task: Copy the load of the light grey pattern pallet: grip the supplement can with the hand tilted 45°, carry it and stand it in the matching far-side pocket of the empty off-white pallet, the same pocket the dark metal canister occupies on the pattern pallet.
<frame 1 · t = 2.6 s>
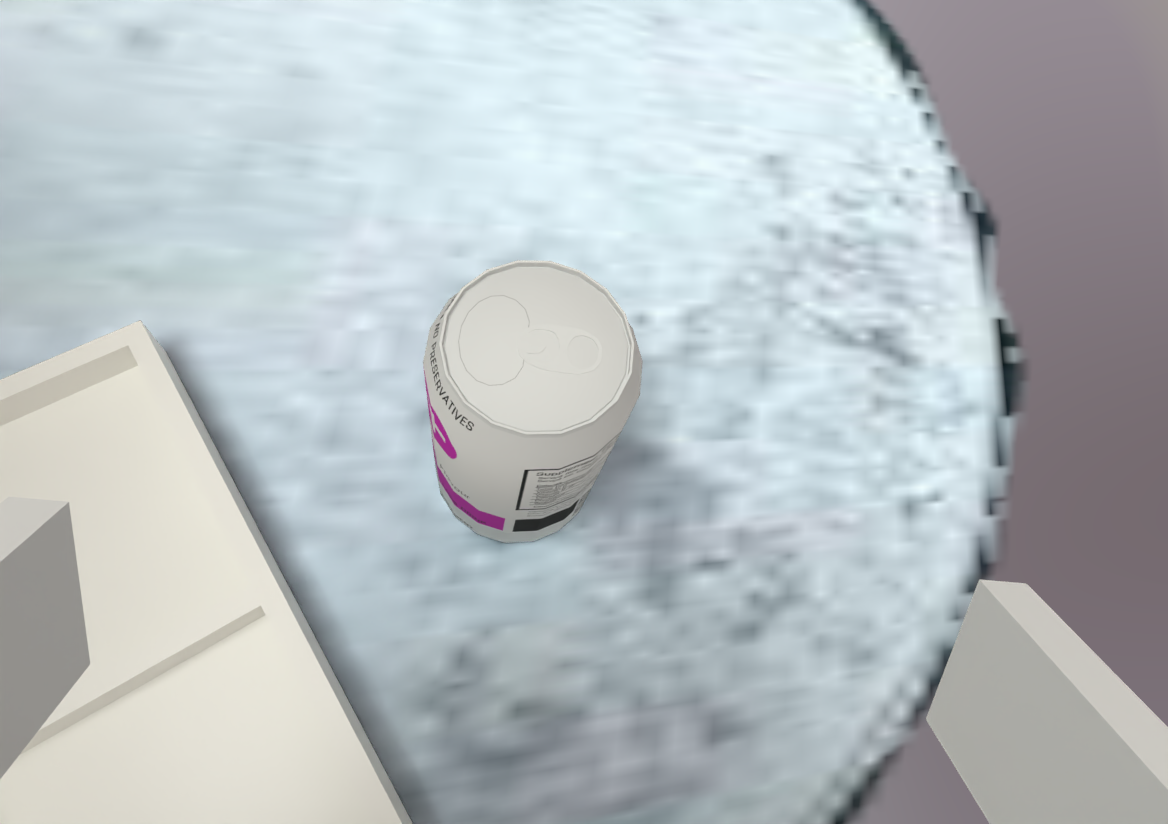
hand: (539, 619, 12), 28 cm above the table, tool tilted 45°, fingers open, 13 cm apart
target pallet: (137, 684, 35), on the table
supplement can: (514, 471, 42), on the table
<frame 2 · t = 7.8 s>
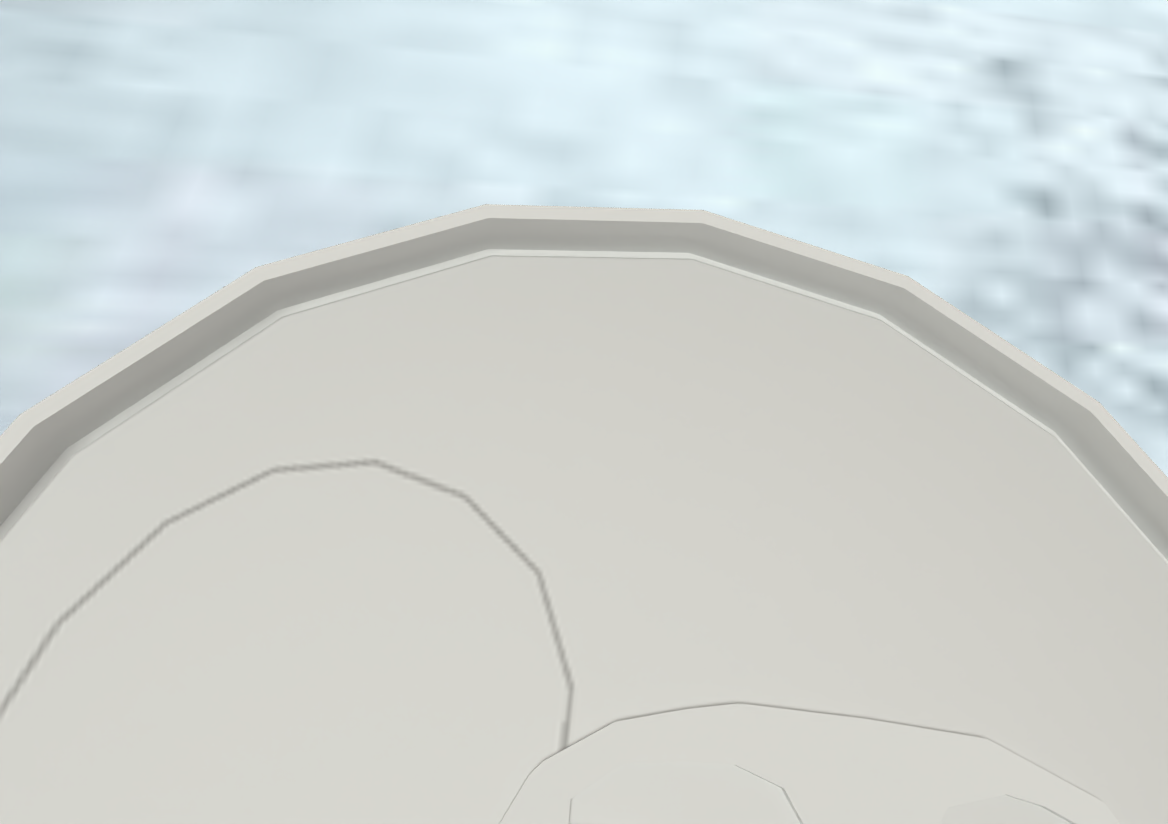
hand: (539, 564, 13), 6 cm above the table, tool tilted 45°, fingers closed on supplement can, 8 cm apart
supplement can: (506, 771, 17), on the table, touching gripper
when the fingers open (8 cm above the table, at t = 13.8 s): supplement can stays where it is, resting on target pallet.
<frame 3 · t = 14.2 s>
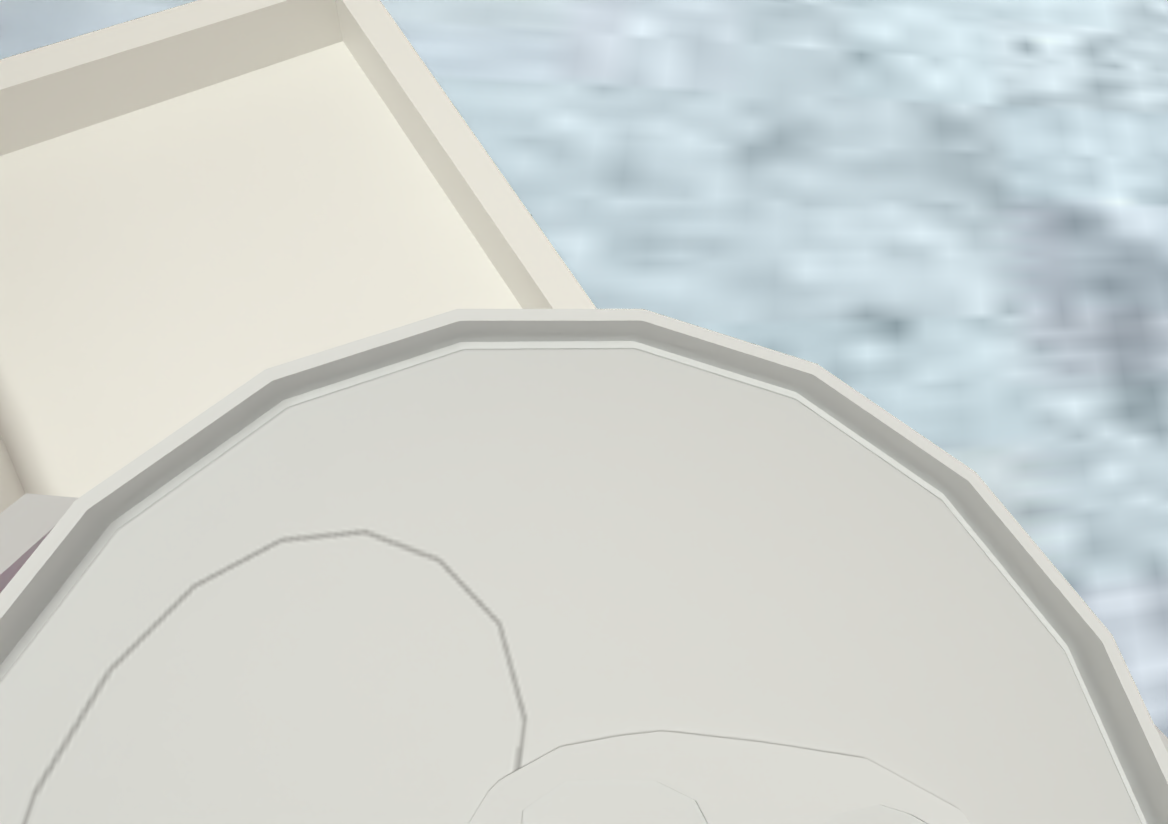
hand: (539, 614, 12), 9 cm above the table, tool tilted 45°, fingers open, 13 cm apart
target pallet: (365, 518, 21), on the table
supplement can: (501, 773, 18), point 1 cm above the table, touching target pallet
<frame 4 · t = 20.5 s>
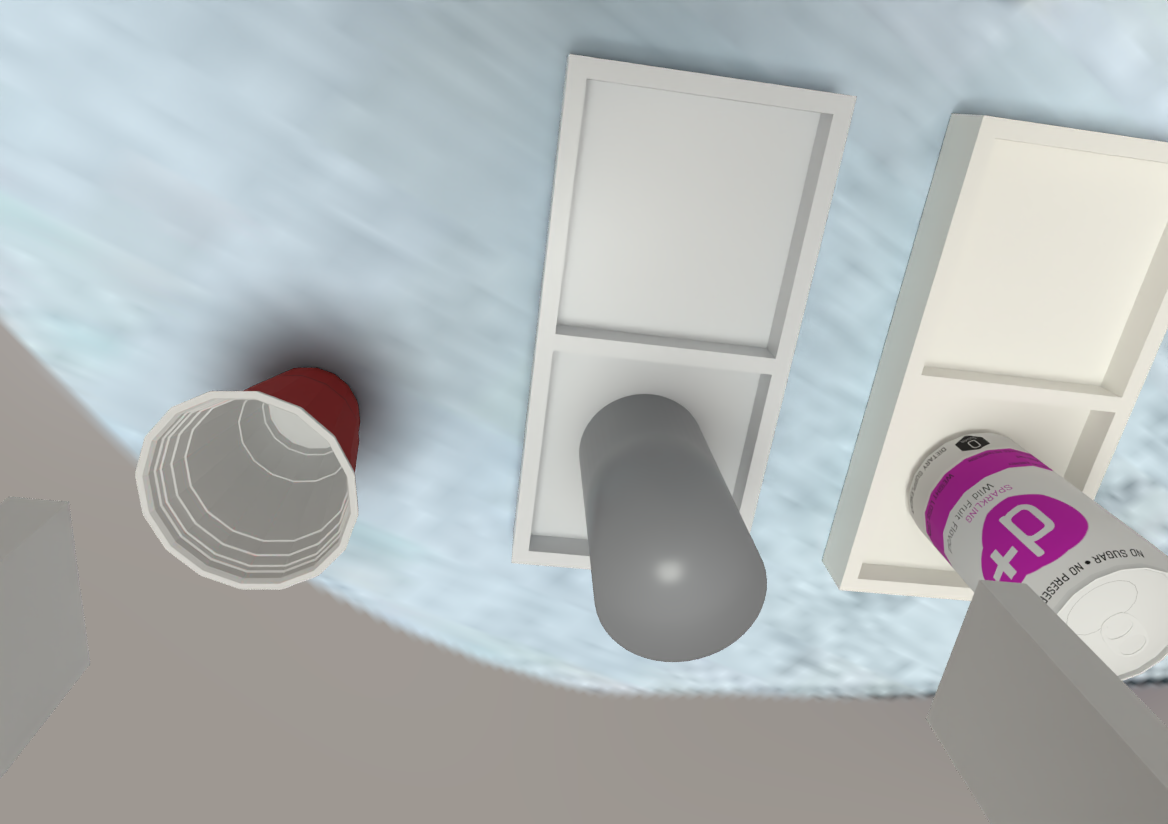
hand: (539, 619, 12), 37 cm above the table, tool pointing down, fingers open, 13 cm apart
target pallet: (989, 374, 51), on the table
supplement can: (963, 482, 52), point 1 cm above the table, touching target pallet
pattern pallet: (657, 337, 48), on the table
plastic cup: (311, 405, 49), on the table
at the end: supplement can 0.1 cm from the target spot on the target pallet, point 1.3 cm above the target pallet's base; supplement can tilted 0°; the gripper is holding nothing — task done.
